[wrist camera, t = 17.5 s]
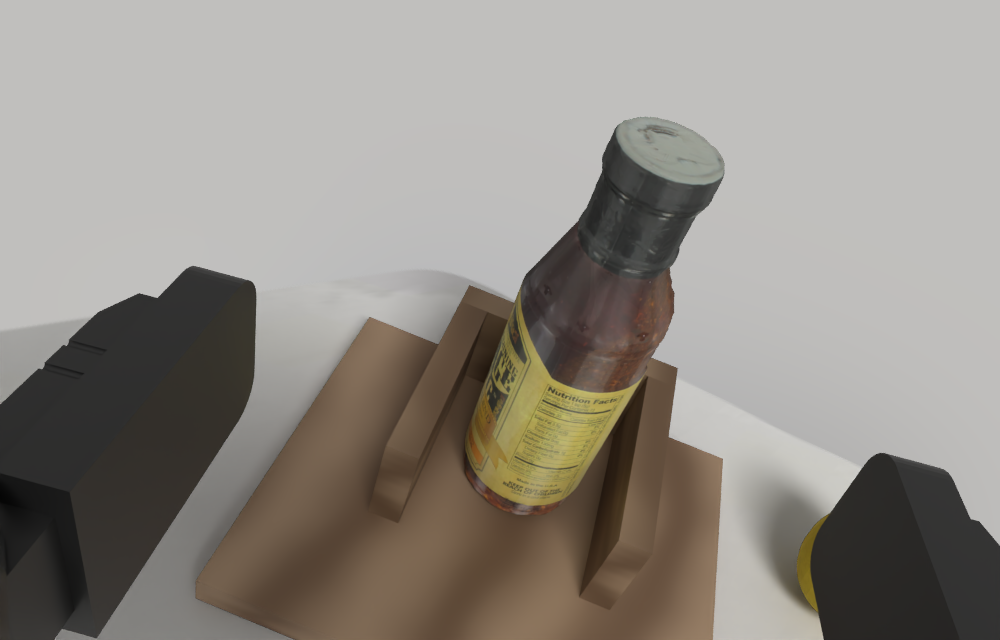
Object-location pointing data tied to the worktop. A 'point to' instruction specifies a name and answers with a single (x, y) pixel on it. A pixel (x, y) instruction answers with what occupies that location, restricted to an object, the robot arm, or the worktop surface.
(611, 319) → the sauce bottle
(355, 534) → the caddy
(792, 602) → the worktop surface
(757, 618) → the worktop surface
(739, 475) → the worktop surface
